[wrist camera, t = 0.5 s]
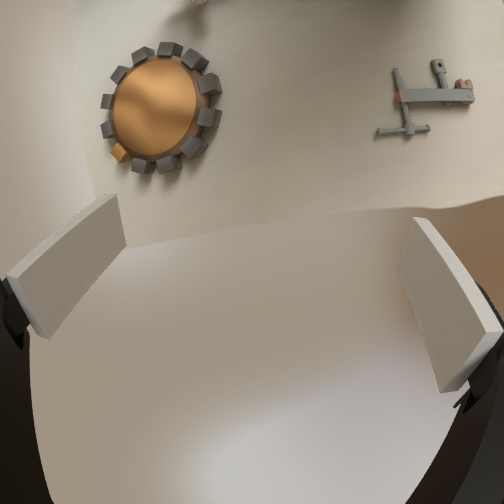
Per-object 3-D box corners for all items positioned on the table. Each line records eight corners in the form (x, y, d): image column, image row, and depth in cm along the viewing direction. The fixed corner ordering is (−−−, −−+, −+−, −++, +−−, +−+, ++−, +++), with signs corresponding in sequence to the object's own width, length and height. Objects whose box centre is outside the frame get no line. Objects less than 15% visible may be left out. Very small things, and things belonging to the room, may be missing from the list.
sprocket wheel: (125, 46, 33) (116, 43, 31) (239, 52, 31) (233, 47, 28) (102, 158, 41) (92, 160, 39) (203, 187, 39) (195, 190, 37)
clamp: (465, 59, 21) (482, 132, 25) (459, 62, 23) (474, 132, 27) (360, 59, 26) (380, 137, 29) (359, 64, 28) (377, 137, 31)
